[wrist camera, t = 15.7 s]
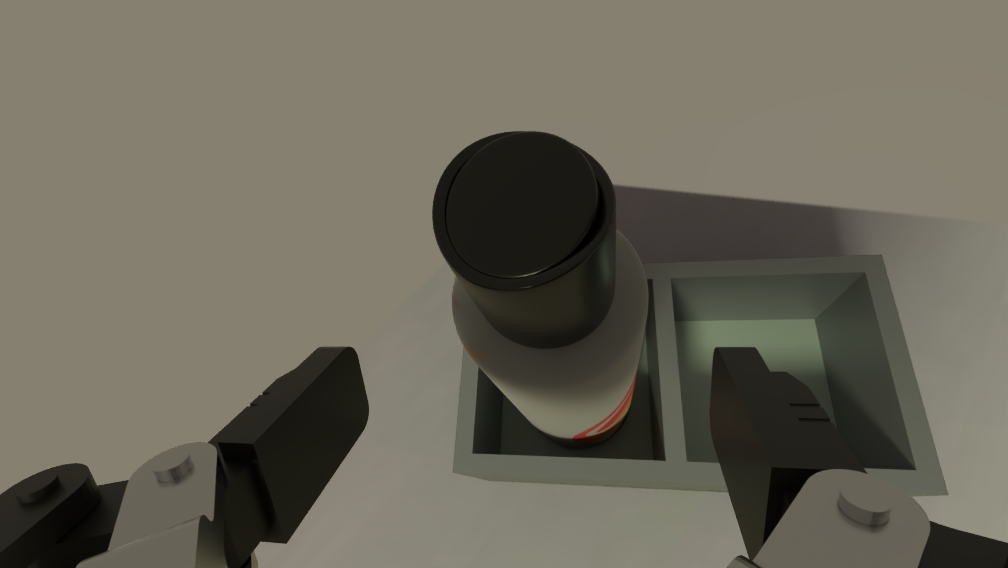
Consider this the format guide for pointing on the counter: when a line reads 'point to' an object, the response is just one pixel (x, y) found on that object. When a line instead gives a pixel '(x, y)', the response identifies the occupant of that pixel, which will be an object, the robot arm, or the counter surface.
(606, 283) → the lotion bottle
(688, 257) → the counter surface
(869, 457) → the box
